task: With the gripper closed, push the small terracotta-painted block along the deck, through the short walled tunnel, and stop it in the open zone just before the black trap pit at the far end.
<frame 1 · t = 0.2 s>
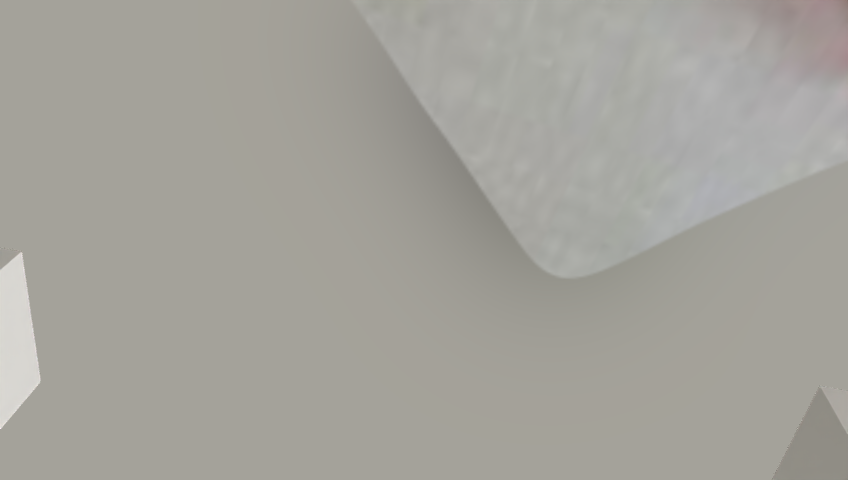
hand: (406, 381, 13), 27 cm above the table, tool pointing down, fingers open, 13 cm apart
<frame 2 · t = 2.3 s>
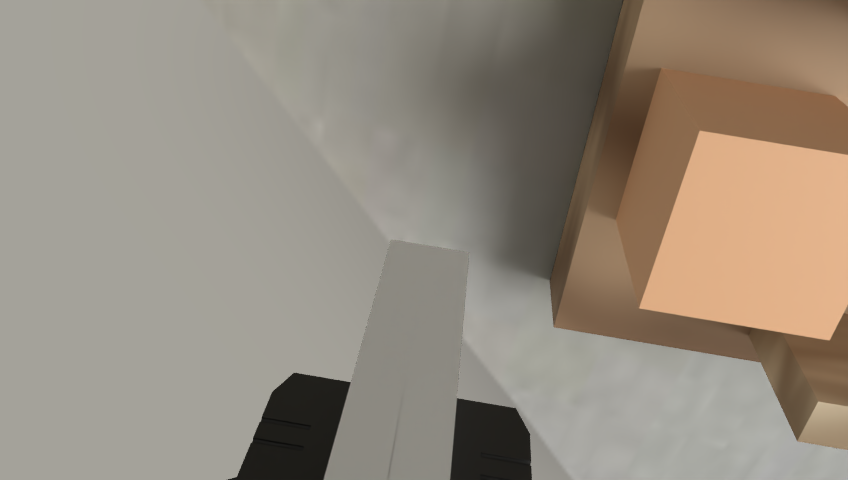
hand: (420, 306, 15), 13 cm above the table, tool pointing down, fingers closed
block: (719, 161, 23), point 3 cm above the table, touching deck
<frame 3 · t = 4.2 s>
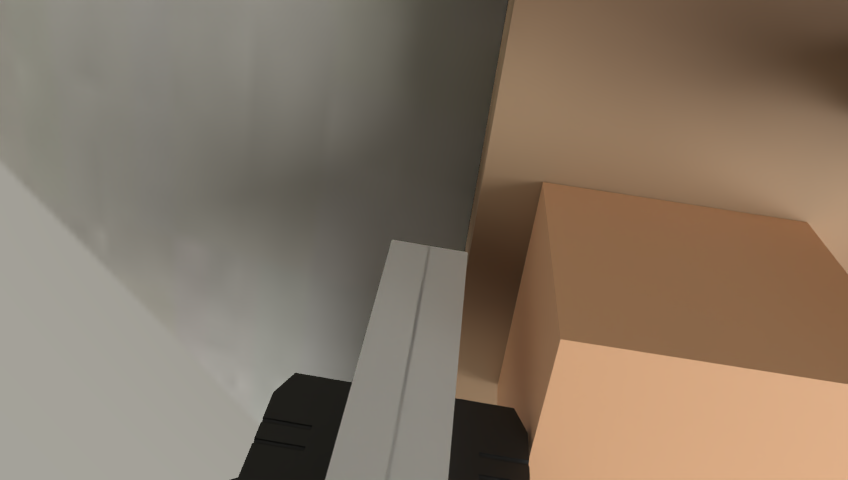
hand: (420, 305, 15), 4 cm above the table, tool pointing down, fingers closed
block: (639, 310, 15), point 3 cm above the table, touching gripper
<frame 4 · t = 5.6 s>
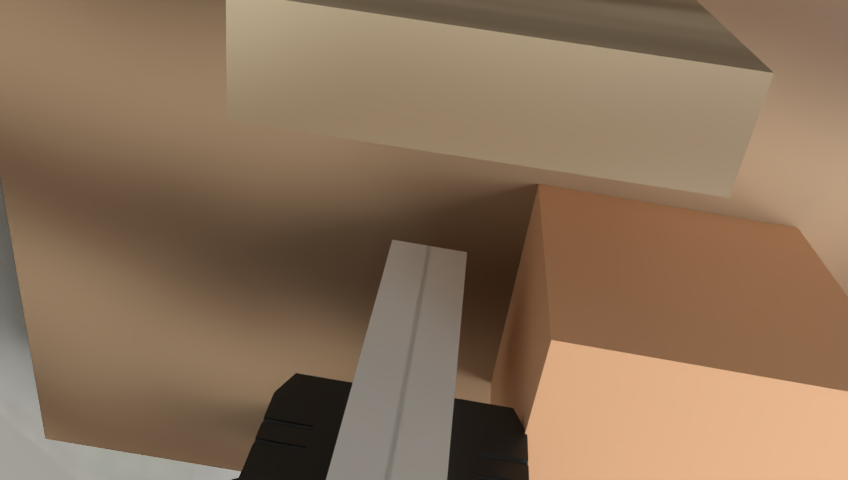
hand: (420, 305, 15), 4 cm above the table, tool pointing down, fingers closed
deck: (645, 230, 18), on the table
block: (631, 312, 16), point 3 cm above the table, touching deck, gripper
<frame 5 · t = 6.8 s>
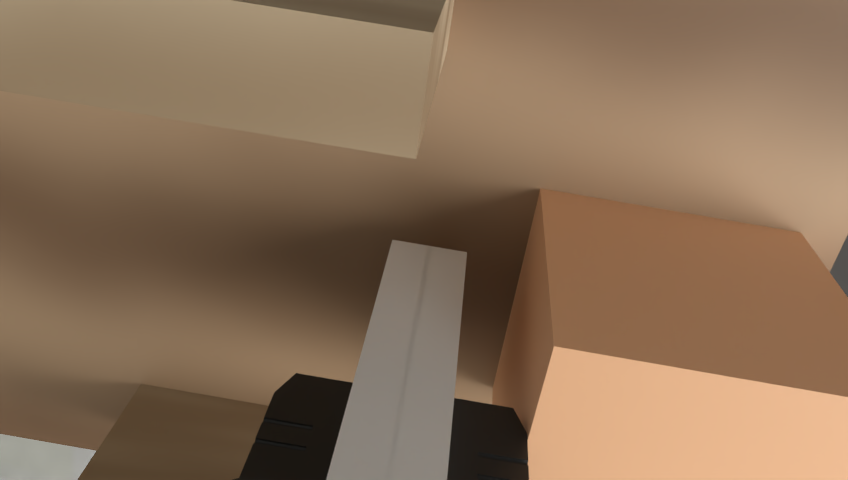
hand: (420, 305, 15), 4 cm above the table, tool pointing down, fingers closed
deck: (489, 212, 18), on the table
block: (634, 316, 15), point 3 cm above the table, touching deck, gripper
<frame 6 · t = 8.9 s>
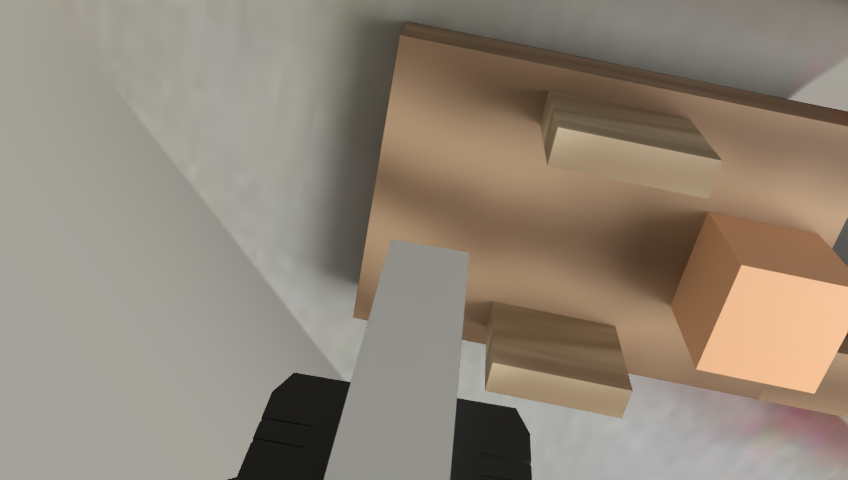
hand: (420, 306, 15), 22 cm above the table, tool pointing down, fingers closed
deck: (663, 222, 37), on the table
block: (742, 271, 34), point 3 cm above the table, touching deck
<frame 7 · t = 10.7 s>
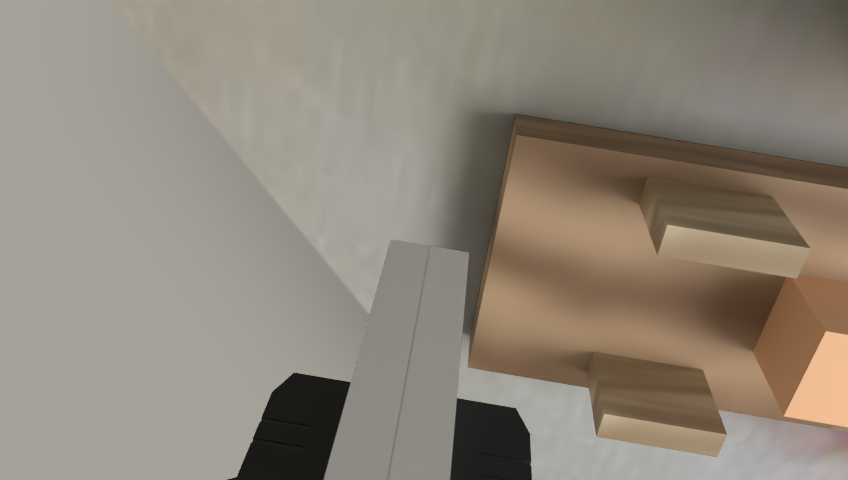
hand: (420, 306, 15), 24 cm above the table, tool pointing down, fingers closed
deck: (743, 276, 41), on the table
block: (818, 321, 38), point 3 cm above the table, touching deck
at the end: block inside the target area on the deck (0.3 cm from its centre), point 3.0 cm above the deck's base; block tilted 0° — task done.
